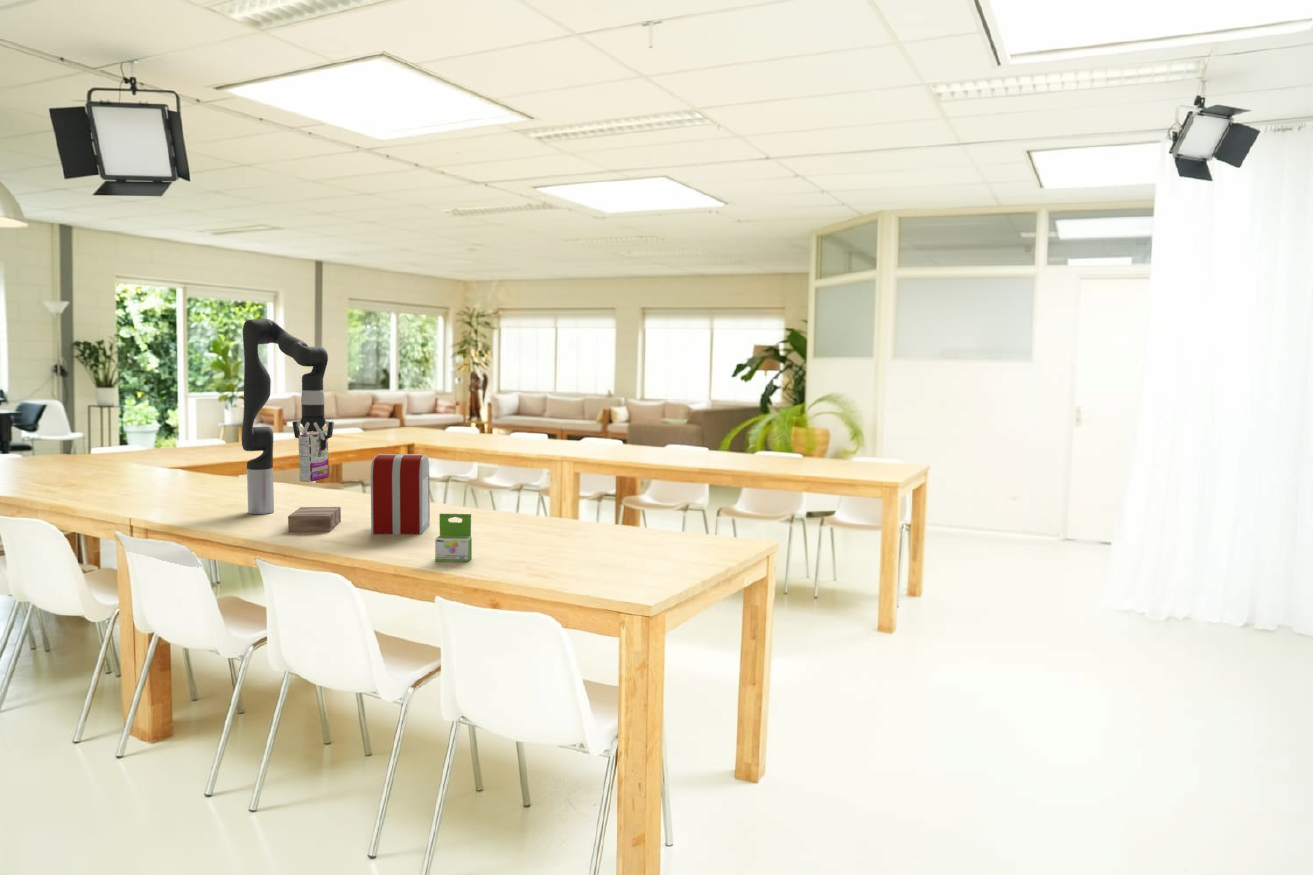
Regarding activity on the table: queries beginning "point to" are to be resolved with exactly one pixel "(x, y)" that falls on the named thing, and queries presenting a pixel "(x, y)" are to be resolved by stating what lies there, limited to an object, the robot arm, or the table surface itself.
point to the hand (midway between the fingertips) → (313, 450)
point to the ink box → (454, 539)
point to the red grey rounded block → (400, 494)
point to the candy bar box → (312, 458)
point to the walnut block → (314, 519)
